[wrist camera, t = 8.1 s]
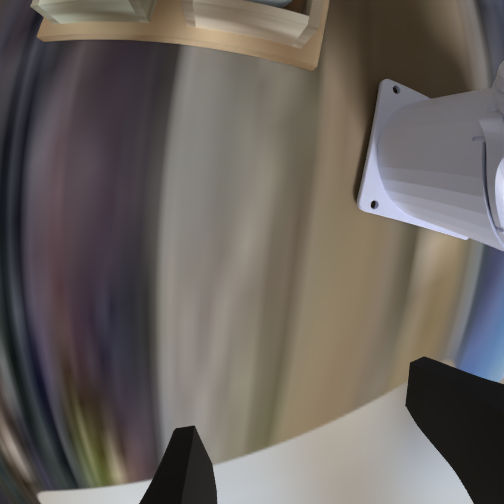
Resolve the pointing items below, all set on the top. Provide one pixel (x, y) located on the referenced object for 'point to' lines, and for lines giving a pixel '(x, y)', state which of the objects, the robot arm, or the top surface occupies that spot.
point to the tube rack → (194, 25)
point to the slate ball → (272, 2)
